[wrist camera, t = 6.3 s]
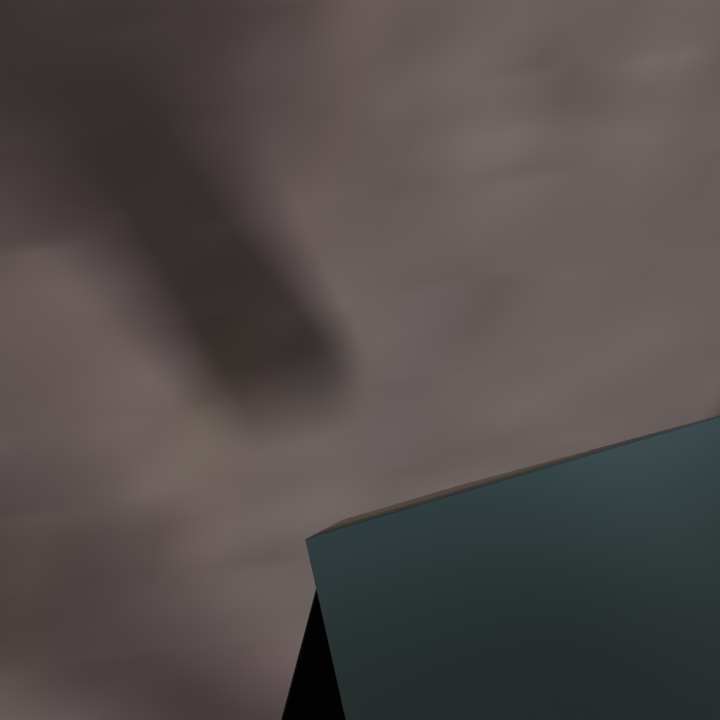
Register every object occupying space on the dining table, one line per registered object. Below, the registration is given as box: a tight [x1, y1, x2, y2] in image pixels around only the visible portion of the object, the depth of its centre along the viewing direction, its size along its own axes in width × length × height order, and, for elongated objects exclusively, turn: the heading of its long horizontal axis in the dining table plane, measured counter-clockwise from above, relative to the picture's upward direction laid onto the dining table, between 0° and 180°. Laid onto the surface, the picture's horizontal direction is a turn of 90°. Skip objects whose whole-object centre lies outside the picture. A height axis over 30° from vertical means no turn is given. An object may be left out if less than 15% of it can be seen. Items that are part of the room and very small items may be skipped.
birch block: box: [305, 416, 720, 720], centre depth 9 cm, size 4×4×12 cm
